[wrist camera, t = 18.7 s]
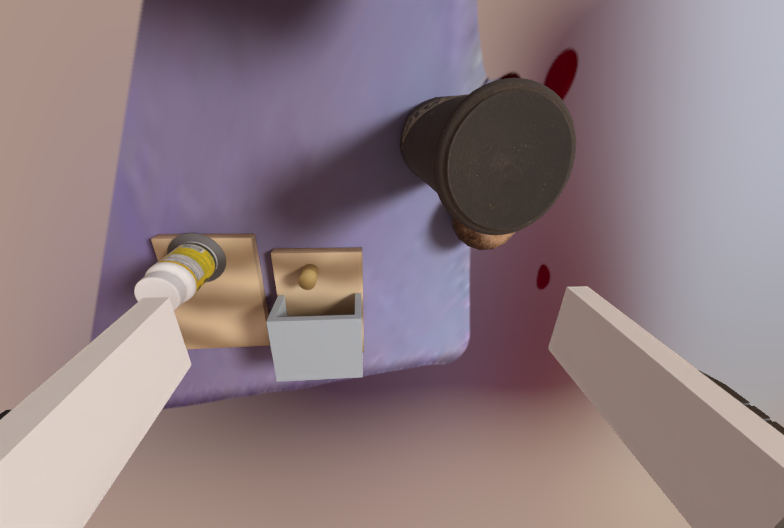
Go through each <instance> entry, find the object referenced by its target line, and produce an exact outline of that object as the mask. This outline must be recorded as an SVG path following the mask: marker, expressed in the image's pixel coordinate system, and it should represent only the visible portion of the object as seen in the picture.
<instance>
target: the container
mask: <svg viewBox="0 0 784 528" xmlns="http://www.w3.org/2000/svg"><path fill="white" fill-rule="evenodd" d="M400 147H401V153H402V156H403V158H404V161H405V162H406V164H407V165H408V167H409V168H410V169H411V170H412V171H413V172H414V173H415V174H416V175H417V176H419V177H420V178H421V179H422V180H423V181H425V182H426V183H427V184H428V185H429V186H430V187H431V188H432V189H433V190H435V191H436V192H437V193H438V196H439V198H440V200H441V202H442V204H443V205H444V207H445V208H446V210H447V211H448V212H449V214H450V215H451V216H452V217H453V218H454V219H456V220H457V221H458V222H459V223H460V224H462V225H463V226H465V227H467V228H468V229H470V230H473V231H475V232H478V233H482V234H487V235H505V234H510V233H514V232H517V231H519V230H522V229H523V228H526V227H528V226H529V225H531V224H533V223H534V222H536V221H537V220H538V219H539V218H541V217H542V216H543V215H544V214H545V213H546V212H547V211H548V210H549V209H550V208H551V207H552V205H553V204H554V203H555V202H556V200H557V199H558V198H559V196H560V194H561V193H562V191H563V189H564V188H565V186H566V183H567V181H568V179H569V177H570V174H571V171H572V167H573V163H574V158H575V151H576V136H575V129H574V125H573V120H572V117H571V115H570V113H569V111H568V109H567V107H566V106H565V104H564V102H563V101H562V100H561V99H560V97H559V96H558V95H557V94H556V93H555V92H554V91H552V90H551V89H550V88H548V87H546V86H544V85H542V84H540V83H538V82H535V81H532V80H528V79H522V78H508V79H501V80H497V81H493V82H491V83H488V84H486V85H483V86H481V87H480V88H478V89H476V90H475V91H473V92H472V93H470V94H469V95H458V96H447V97H435V98H433V99H430V100H427V101H425V102H423V103H422V104H420V105H419V106H418V107H416V108H415V109H414V110H413V111H412V113H411V114H410V115H409V116H408V118H407V120H406V122H405V124H404V126H403V129H402V133H401V139H400Z"/></svg>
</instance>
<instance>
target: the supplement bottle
mask: <svg viewBox="0 0 784 528" xmlns="http://www.w3.org/2000/svg"><path fill="white" fill-rule="evenodd" d="M217 265H218V262H217V257H216V255H215V253H214V252H213V251H212V250H211V249H210V248H209V247H207V246H206V245H204V244H202V243H199V242H186V243H183V244H181V245H179V246H178V247H177V248H175V249H174V250H173V251H172V252H170V253H169V254H168V255H166V256H165V257H164V258H162V259H161V260H160V261H158V262H157V263H156V264H154V265H153V266H151V267H150V268H149V269H148V270H147V272H146V274H145V277H144V278H142V279H141V280H140V281H139V282H138V283H137V284H136V286H135V289H134V294H135V297H136V299H137V301H138V302H139V301H140V300H141V299H142V298H156V297H170V300H171V303H172V306H173V310H175V309H176V308H178V307H179V306H180V305H181V304H182V303H184V302H186V301H188V300H189V299H190V298H192V297H193V296H194V295H195V293H196V292H197V291H198V290H199V289H200V288H201V287H202V286H203V284H204V283H205V282H206V281H207V280H208V279H209V278H210V277H211V275H212V274H213V273H214V272H215V270H216V269H217Z"/></svg>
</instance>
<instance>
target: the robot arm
mask: <svg viewBox="0 0 784 528" xmlns="http://www.w3.org/2000/svg"><path fill="white" fill-rule="evenodd" d="M548 349H549V350H550V352H551V353H552V354H553V355H554V357H555V358H556V359H557V360H558V362H559V363H560V364H561V365H562V367H563V368H564V369H565V370H566V371H567V373H568V374H569V375H570V376H571V378H572V379H573V380H574V381H575V383H576V384H577V385H578V386H579V388H580V389H581V390H582V391H583V393H584V394H585V395H586V396H587V398H588V399H589V400H590V401H591V402H592V404H593V405H594V406H595V408H596V409H597V410H598V411H599V412H600V414H601V415H602V416H603V417H604V419H605V420H606V421H607V422H608V424H609V425H610V426H611V427H612V429H613V430H614V431H615V432H616V434H617V435H618V436H619V437H620V439H621V440H622V441H623V442H624V444H625V445H626V446H627V447H628V449H629V450H630V451H631V452H632V454H633V455H634V456H635V457H636V459H637V460H638V461H639V462H640V463H641V465H642V466H643V467H644V468H645V470H646V471H647V472H648V473H649V475H650V476H651V477H652V478H653V479H654V481H655V482H656V483H657V485H658V486H659V487H660V488H661V490H662V491H663V492H664V493H665V495H666V496H667V497H668V498H669V500H670V501H671V502H672V503H673V504H674V506H675V507H676V508H677V509H678V511H679V512H680V513H681V514H682V516H683V517H684V518H685V519H686V521H687V522H688V523H689V524H690V526H691V527H692V528H784V428H783V427H782V426H781V425H779V424H778V423H777V422H772V421H771V420H770V417H769V416H767V415H765V413H763V412H762V411H760V410H759V409H757V408H756V407H755V406H751V405H750V404H749V402H748V401H747V400H746V399H744V398H743V397H742V396H740V395H739V394H737V393H736V392H735V391H733V390H732V389H731V388H729V387H728V386H727V385H725V384H723V383H722V382H719V381H718V380H716V379H714V378H712V377H710V376H708V375H707V374H705V373H702V372H701V371H699V370H697V369H696V368H694V367H693V366H692V365H691V364H689V363H688V362H687V361H685V360H684V359H683V358H681V357H680V356H679V355H677V354H676V353H675V352H673V351H672V350H670V349H669V348H668V347H667V346H665V345H664V344H663V343H661V342H660V341H659V340H657V339H656V338H655V337H653V336H652V335H651V334H650V333H648V332H647V331H646V330H644V329H643V328H642V327H640V326H639V325H638V324H636V323H635V322H634V321H632V320H631V319H630V318H628V317H627V316H626V315H624V314H623V313H622V312H621V311H619V310H618V309H617V308H615V307H614V306H613V305H611V304H610V303H609V302H607V301H606V300H605V299H603V298H602V297H601V296H599V295H598V294H597V293H595V292H594V291H593V290H591V289H590V288H589V287H588V286H582V287H567V289H566V292H565V295H564V298H563V301H562V305H561V308H560V312H559V315H558V318H557V321H556V325H555V328H554V331H553V334H552V338H551V341H550V344H549V348H548ZM190 366H191V362H190V359H189V356H188V353H187V350H186V346H185V343H184V340H183V337H182V334H181V331H180V328H179V325H178V322H177V319H176V316H175V313H174V310H173V306H172V303H171V300H170V297H156V298H142V299H141V300H140V301H139V302H138V303H136V304H135V305H134V306H133V307H132V308H131V309H129V310H128V311H127V312H126V313H125V314H124V315H122V316H121V317H120V318H119V319H118V320H117V321H115V322H114V323H113V324H112V325H111V326H110V327H108V328H107V329H106V330H105V331H104V332H103V333H101V334H100V335H99V336H98V337H97V338H95V339H94V340H93V341H92V342H91V343H90V344H88V345H87V346H86V347H85V348H84V349H83V350H81V351H80V352H79V353H78V354H77V355H76V356H74V357H73V358H72V359H71V360H70V361H69V362H68V363H66V364H65V365H64V366H63V367H62V368H60V369H59V370H58V371H57V372H56V373H55V374H53V375H52V376H51V377H50V378H49V379H48V380H46V381H45V382H44V383H43V384H42V385H41V386H39V387H38V388H37V389H36V390H35V391H33V392H32V393H31V394H30V395H29V396H28V397H27V398H25V399H24V400H23V401H22V402H21V403H19V404H18V405H17V406H16V407H15V408H14V409H12V410H6V411H4V412H3V413H1V414H0V528H83V527H84V526H85V524H86V523H87V521H88V520H89V518H90V517H91V515H92V514H93V512H94V511H95V509H96V508H97V506H98V505H99V503H100V502H101V500H102V498H103V497H104V495H105V494H106V493H107V491H108V490H109V488H110V486H111V485H112V484H113V482H114V481H115V479H116V478H117V476H118V475H119V473H120V472H121V470H122V469H123V467H124V465H125V464H126V462H127V461H128V460H129V458H130V456H131V455H132V454H133V452H134V451H135V449H136V447H137V446H138V445H139V443H140V441H141V440H142V438H143V437H144V435H145V434H146V432H147V431H148V429H149V428H150V427H151V425H152V424H153V422H154V420H155V419H156V418H157V416H158V414H159V413H160V411H161V410H162V409H163V407H164V406H165V404H166V402H167V401H168V399H169V398H170V396H171V395H172V393H173V392H174V390H175V389H176V387H177V386H178V384H179V383H180V381H181V380H182V378H183V377H184V375H185V374H186V372H187V371H188V369H189V368H190Z"/></svg>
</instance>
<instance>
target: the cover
mask: <svg viewBox="0 0 784 528" xmlns="http://www.w3.org/2000/svg"><path fill="white" fill-rule="evenodd" d="M266 323H267V328H268V334H269V340H270V345H271V351H272V357H273V362H274V368H275V373H276V379H277V382H278V381H298V380H317V379H336V378H355V377H363V357H362V302H361V293H355V315H332V316H302V317H288V316H287V309H286V302H285V295H278V297H277V299H276V301H275V303H274V306H273V308H272V310H271V312H270V315H269V317H268V319H267V321H266Z"/></svg>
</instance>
